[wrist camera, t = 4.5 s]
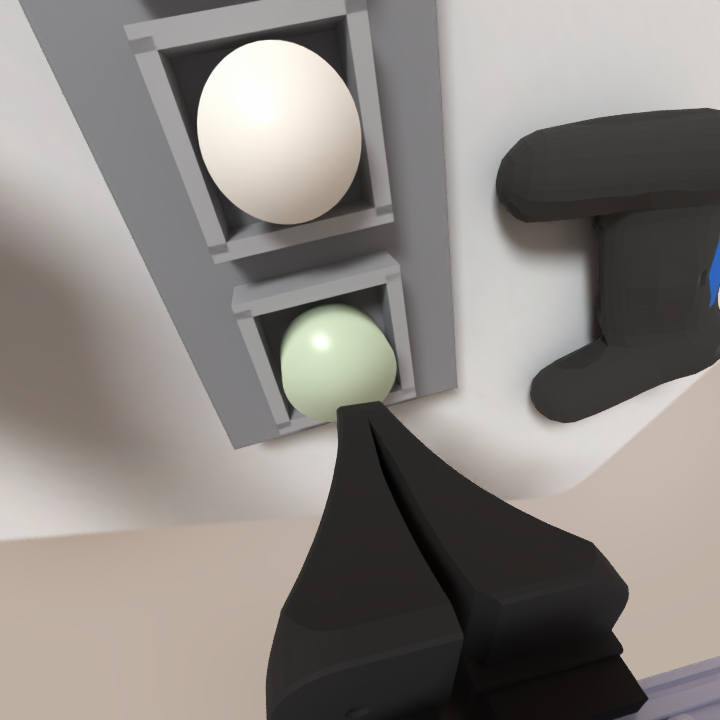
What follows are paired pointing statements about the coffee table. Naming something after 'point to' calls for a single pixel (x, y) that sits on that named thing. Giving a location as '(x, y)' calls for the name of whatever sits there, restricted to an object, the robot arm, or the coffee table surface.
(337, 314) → the sage button
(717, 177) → the gaming controller
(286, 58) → the offwhite button
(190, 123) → the button panel
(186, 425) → the coffee table surface
